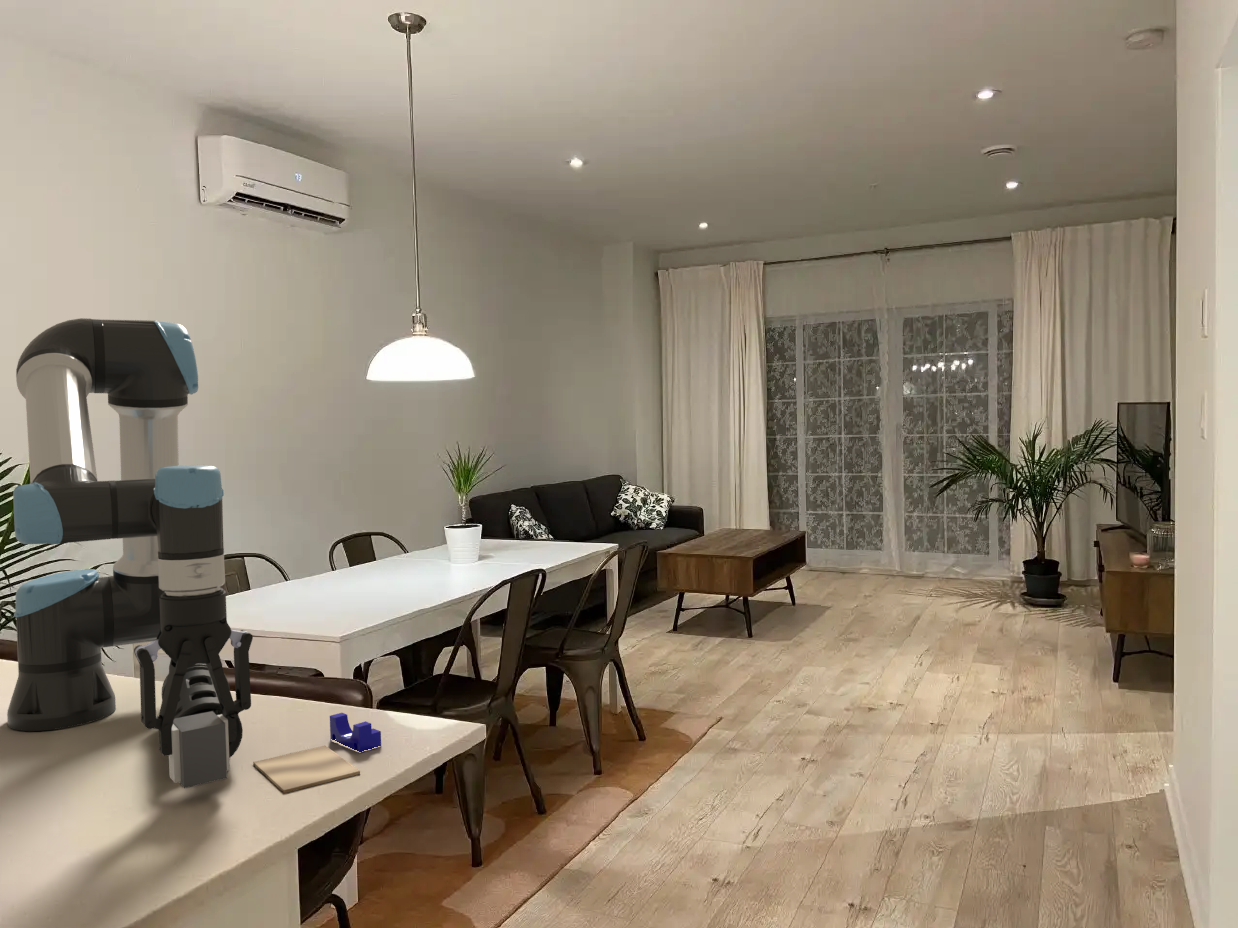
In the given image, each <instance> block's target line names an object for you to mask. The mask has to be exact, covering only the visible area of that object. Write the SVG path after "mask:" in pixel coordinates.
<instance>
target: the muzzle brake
mask: <svg viewBox="0 0 1238 928" xmlns="http://www.w3.org/2000/svg"><path fill="white" fill-rule="evenodd" d="M224 674H225V677H226V680H227V683H228V686H229V689H230V684H229V681H228V678H227V675H226V673H225V672H224ZM167 678H168V674H166V676H165V678H164V680H163V682H162V686H161V701H162V700H163V695H164V691H165V687H166V683H167ZM230 690H231V689H230ZM211 711H213V712H214V713H215V714H216V715H221V714H222V715H223V711H222V709H221V706H220V703H219V700H218V697H217V694H216V691H215V688H214V685H213V682H212V679H211V676H210V673H209V670H208V667H207V665H206V664H199V663H197V664H195V665H192V666H189V667H187V670H186V674H185V675H184V678H183V682H182V687H181V691H180V695H179V700H178V704H177V708H176V712H175V717H174V719H175V718H180V717H185V716H190V715H195V714H200V713H206V712H211ZM243 729H244V728H243V723H242V721H241V718H240V715H239V714H238V717H237V718H236V732H237V737H236V740H235V741H232V742H229V759H231V758H232V757H233V756H234V755H235V753H236V752H237V751H238V749H239V746H240V745H241V743H242V739H243Z"/></svg>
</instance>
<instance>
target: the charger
mask: <svg viewBox="0 0 1238 928" xmlns="http://www.w3.org/2000/svg"><path fill="white" fill-rule="evenodd" d="M173 724H174V725H175V726H176V727H177V728H178V729H179V745H180V769H181V782H179V784H180V785H181V786H182V787H183V789H188V788H191V787H192V788H193V787H196V786H202V785H204V784H208V783H213V782H217V781H222V780H225V779H228V771H227V759H226V733H225V723H224V722H223V721H222V720H221V719H220V718H219V717H218V716H217V715H216V714H215V713H214V712H213V711H211V712H206V713H200V714H195V715H190V716H185V717H180V718H175V719H174V721H173Z"/></svg>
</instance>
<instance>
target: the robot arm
mask: <svg viewBox="0 0 1238 928" xmlns="http://www.w3.org/2000/svg"><path fill="white" fill-rule="evenodd" d="M15 378H16V386H17V389H18V392H19V393H20V395H21V396H22V397H23V398H24V399H25V408H26V425H27V445H28V446H27V447H28V462H29V478H30V480H29V481H30V483H29V484H20V485H17V486H16V487H14V489H13V491H12V493H13V496H12V497H13V498H12V499H13V519H14V524H13V525H14V536H15V539H16V540H17V541H18V542H19V543H21V544H23V545H46V544H47V545H48V544H49V545H53V546H54V545H59V544H60V545H61V544H69V543H70V544H72V543H79V542H81V543H82V542H90V541H91V542H92V541H103V540H105V541H106V540H111V539H112V540H114V539H115V540H116V539H119V540H120V539H122V556H121V557H120V558H119V559H118V560H116V562H114V563H113V566H112V575H110V576H104V577H100V573H98V570H96V569H94V568H93V569H92V568H85V569H79V570H78V569H75V570H69V571H64V572H59V573H53V574H50V575H46V576H42V577H38V578H35V579H32V580H29V581H27V582H24V583H23V584H22V585H20V586H19V587H18V589H16V592H15V608H14V609H15V611H14V613H13V616H14V618H15V620H16V621H15V622H16V641H17V642H16V643H17V645H16V646H17V667H18V668H17V670H18V675H17V679H16V682H15V686H14V690H13V692H12V696H11V698H10V699H11V700H10V702H9V705H8V709H7V713H6V715H7V726H8V727H9V728H10V729H12V730H15V731H23V732H39V731H40V732H41V731H51V730H59V729H65V728H71V727H72V728H73V727H77V726H81V725H86V724H89V723H93V722H95V721H99V720H101V719H103V718H105V717H108V716H110V715H111V714H113V713H114V712H115V711H116V709H117V708H116V707H117V705H116V703H117V701H116V694H115V691H114V690H113V687H112V685H111V683H110V680H109V678H108V676H107V674H106V671H105V669H104V666H103V664H102V662H103V661H102V648H110V647H118V646H126V645H134V644H139V645H137V646H135V647H134V648H133V654H134V656H135V657H136V659H137V661H138V664H139V685H140V690H139V691H140V692H139V693H140V720H141V723H142V724H143V725H144V727H145V728H146V729H147V730H152V729H153V730H158V745H159V746H158V747H159V751H160V753H161V755H162V756H163V757H166V756H168V766H169V768H168V770H169V772H168V773H169V778H170V779H171V780H172V782H173V783H175V784H177V783H180V782H181V769H180V745H179V729H178V728H177V727H176V726H175V725H174V724H173V721H174V717H175V712H176V708H177V704H178V700H179V695H180V691H181V687H182V682H183V678H184V675H185V674H186V670H187V667H189V666H192V665H195V664H197V663H199V664H206V665H207V667H208V670H209V673H210V676H211V679H212V682H213V685H214V688H215V691H216V694H217V697H218V700H219V703H220V706H221V709H222V711H223V715H222V714H221V715H217V716H218V717H219V718H220V719H221V720H222V721H223V722H224V723H225V733H226V759H227V772H228V771H230V770H231V767H230V766H231V765H230V758H229V742H232V741H235V740H236V737H237V732H236V718H237V717H238V715H239V713H241V712H243V711H248V710H249V709H250V708H251V707H252V694H251V672H250V670H251V669H250V654H249V653H250V652H249V651H250V650H251V645H252V642H253V637H254V636H253V634H252V633H250V632H249V631H247V630H245V629H241V630H234V629H232V628H231V627H230V625H229V623H228V620H227V617H228V615H227V613H228V612H227V591H226V590H225V589H224V588H222V586H224V585H225V584H226V573H225V572H226V571H225V570H226V567H225V550H224V549H225V548H224V522H223V521H224V520H223V519H224V518H223V517H224V515H223V496H224V494H225V493H224V489H223V488H222V486H223V485H222V476H221V470H220V469H219V468H218V467H217V466H214V465H205V464H203V465H202V464H201V465H200V464H199V465H198V464H197V465H195V464H191V465H179V414H180V413H181V412H182V411H183V410H184V409H186V408H187V407H188V405H189V404H188V400H189V399H188V397H189V396H188V395H193V394H196V393H197V392H198V390H199V374H198V367H197V359H196V354H195V351H194V346H193V342H192V339H191V336H190V333H189V331H188V330H187V328H186V327H184V326H183V325H182V324H180V323H178V322H177V323H176V322H170V321H169V322H168V321H159V320H148V319H147V320H141V319H140V320H138V319H135V320H134V319H100V318H98V319H97V318H84V317H83V318H73V319H69V320H65V321H62V322H59V323H55V325H52V326H51V327H49V328H46V329H45V330H43V331H42V332H40V333H39V334H38V335H37V336H35V337H34V339H32V340H31V341H30V342H29V343H28V345H27V346H26V347H25V348H24V350H23V352H22V353H21V355H20V357H19V359H18V361H17V366H16V371H15ZM90 394H107V405H108V406H109V407H110V408H111V409H113V410H114V411H115V412H116V413H117V414H118V417H119V420H118V421H119V451H120V452H119V454H120V455H119V456H120V459H119V460H120V480H119V479H118V480H98V475H97V474H98V473H97V467H96V459H95V452H94V443H93V437H92V429H91V422H90V414H89V413H90V412H89V407H88V398H87V397H88V396H89V395H90ZM229 639H230V646H231V647H233V665H234V667H233V669H234V682H235V683H234V687H235V689H234V690H235V700H234V699H233V695H232V693H231V689H229V688H230V685H229V686H228V683H229V682H228V683H227V681H228V679H227V680H226V678H227V676H226V677H225V675H226V673H225V672H224V669H223V663H222V660H221V656H220V653H221V651H222V650H223V648H224V646H226V644H227V642H228V641H229ZM142 643H146V644H145V645H142ZM140 644H141V645H140ZM160 650H162V651H163V652H164V653H165V654H166V655H167V656H168V657H169V658H170V661H169V666H168V674H167V675H168V678H167V683H166V687H165V691H164V695H163V700H162V699H161V704H160V710H159V713H158V715H157V707H156V705H157V704H156V703H157V701H156V700H157V699H156V697H157V696H156V669H155V664H154V662H156V660H157V659H158V651H160ZM224 673H225V674H224Z"/></svg>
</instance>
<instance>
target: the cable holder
mask: <svg viewBox="0 0 1238 928" xmlns="http://www.w3.org/2000/svg"><path fill="white" fill-rule="evenodd" d="M352 727H353V728H351V726H350V723H349V718H348V713H345V712H339V713H336V714H331V715H329V731H330V732H329V734H330V736H329V737H330V740H331V739H332V740H335V739H336V740H335V741H337V742H339V743H341V744H343V745H345V746H348V747H350V748H352V749H354V750H357V751H359V752H362V751H364V750H368V749H372V748H374V747H378V746H381V747H382V731H381V730H378V729H376V728H372V723H371V722H369V721H363V722H359V723H355V724H353V726H352Z"/></svg>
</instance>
